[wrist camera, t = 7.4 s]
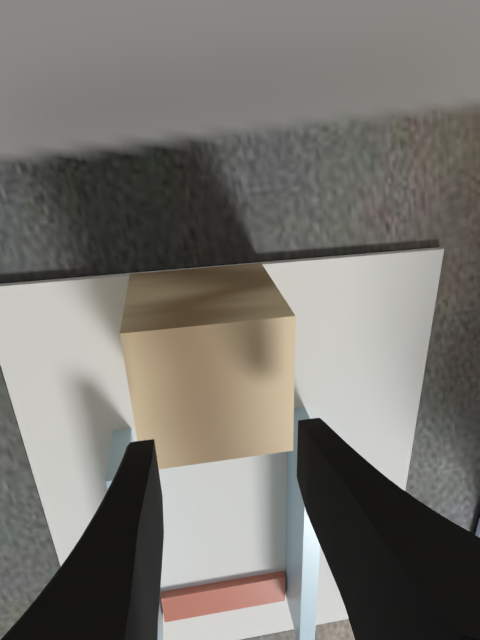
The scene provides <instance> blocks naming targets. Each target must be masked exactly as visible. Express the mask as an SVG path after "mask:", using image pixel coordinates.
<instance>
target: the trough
mask: <svg viewBox="0 0 480 640" xmlns="http://www.w3.org/2000/svg"><path fill="white" fill-rule="evenodd" d="M305 419H310V417H309V415H308V413H307V411H306V409H305V407H300V408H294V431H293V451H287V495H286V572H285V574H284V571H280V572H274V573H268V574H262V575H256V576H251V577H245V578H239V579H233V580H227V581H222V582H216V583H210V584H204V585H198V586H192V587H187V588H181V589H175V590H169V591H163V592H161V601H160V600H159V614H158V637H157V640H163V614H164V620H165V622H170V621H175V620H181V619H187V618H192V617H198V616H203V615H209V614H214V613H220V612H225V611H231V610H236V609H242V608H247V607H253V606H259V605H264V604H270V603H275V602H281V601H285V595H286V599H287V603H288V606H289V610H290V614H291V618H292V622H293V626H294V630H295V634H296V637H297V640H315V626H316V609H317V592H318V575H319V558H320V544H319V541H318V539H317V537H316V534H315V532H314V529H313V527H312V525H311V522H310V520H309V517H308V515H307V512H306V509H305V505H304V502H303V499H302V495H301V491H300V488H299V484H298V481H297V441H298V420H305ZM130 442H134V440H133V434H132V429H125V430H117V431H113V433H112V440H111V447H110V454H109V461H108V468H107V475H106V486H107V490H108V488H109V487H110V485H111V483H112V481H113V478H114V476H115V474H116V472H117V470H118V468H119V465H120V463H121V461H122V458H123V456H124V453H125V450H126V447H127V446H128V445H129V443H130ZM161 602H162V607H161ZM162 608H163V613H162Z"/></svg>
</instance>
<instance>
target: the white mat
mask: <svg viewBox="0 0 480 640" xmlns="http://www.w3.org/2000/svg"><path fill="white" fill-rule="evenodd" d="M443 253H444V249H443V248H441V247H436V248H424V249H412V250H400V251H388V252H376V253H364V254H352V255H340V256H328V257H316V258H304V259H292V260H280V261H268V262H256V263H262V265H263V266H264V268H265V270H266V271H267V273H268V274H269V276H270V277H271V279H272V280H273V282H274V283H275V285H276V286H277V288H278V290H279V291H280V293H281V294H282V296H283V297H284V299H285V300H286V302H287V303H288V305H289V307H290V308H291V310H292V311H293V313H294V314H295V316H296V322H295V376H294V408H300V407H305V409H306V411H307V413H308V415H309V417H310V419H313V418H321V419H322V420H323V421H324V422H325V423H326V424H327V425H328V426H329V427H330V428H331V429H332V430H334V431H335V432H336V433H337V434H338V435H339V436H340V437H341V438H342V439H343V440H344V441H345V442H346V443H347V444H349V445H350V446H351V447H352V448H353V449H354V450H355V451H356V452H357V453H358V454H360V455H361V456H362V457H363V458H364V459H365V460H367V461H368V462H369V463H370V464H371V465H372V466H374V467H375V468H376V469H377V470H378V471H380V472H381V473H382V474H383V475H384V476H386V477H387V478H388V479H389V480H391V481H392V482H393V483H395V484H396V485H397V486H399V487H400V488H401V489H403V490H404V491H405V488H406V482H407V476H408V470H409V464H410V458H411V451H412V445H413V439H414V433H415V427H416V420H417V414H418V408H419V402H420V396H421V389H422V383H423V377H424V371H425V365H426V358H427V352H428V346H429V340H430V334H431V328H432V321H433V315H434V309H435V303H436V297H437V290H438V284H439V278H440V272H441V266H442V259H443ZM244 264H255V263H244ZM232 265H243V264H232ZM232 265H220V266H232ZM220 266H208V267H220ZM208 267H196V268H208ZM196 268H184V269H196ZM184 269H171V270H159V271H147V272H135V273H123V274H111V275H99V276H87V277H75V278H63V279H51V280H39V281H27V282H15V283H3V284H0V365H1V368H2V371H3V375H4V378H5V382H6V385H7V388H8V392H9V395H10V398H11V402H12V405H13V408H14V412H15V415H16V418H17V422H18V425H19V428H20V432H21V435H22V439H23V442H24V445H25V449H26V452H27V455H28V459H29V462H30V465H31V469H32V472H33V475H34V479H35V482H36V485H37V489H38V492H39V496H40V499H41V502H42V506H43V509H44V512H45V516H46V519H47V522H48V526H49V529H50V532H51V536H52V539H53V542H54V546H55V549H56V553H57V556H58V559H59V563H60V566H62V564H63V563H64V561H65V560H66V559H67V557H68V556H69V554H70V553H71V551H72V550H73V548H74V547H75V545H76V544H77V542H78V541H79V539H80V538H81V536H82V534H83V533H84V531H85V529H86V528H87V526H88V524H89V523H90V521H91V519H92V518H93V516H94V514H95V513H96V511H97V509H98V507H99V506H100V504H101V502H102V500H103V498H104V496H105V494H106V492H107V486H106V475H107V468H108V461H109V454H110V447H111V440H112V433H113V431H117V430H125V429H132V434H133V440H134V442H135V441H137V436H136V430H135V424H134V417H133V411H132V405H131V399H130V393H129V387H128V381H127V375H126V369H125V363H124V357H123V351H122V345H121V339H120V329H121V323H122V317H123V311H124V305H125V300H126V294H127V288H128V282H129V276H130V274H137V273H149V272H161V271H173V270H184ZM159 476H160V483H161V490H162V497H163V523H164V540H163V556H162V571H161V585H160V601H161V592H163V591H169V590H175V589H181V588H187V587H192V586H198V585H204V584H210V583H216V582H222V581H227V580H233V579H239V578H245V577H251V576H256V575H262V574H268V573H274V572H280V571H284V574H285V572H286V495H287V452H280V453H273V454H266V455H259V456H251V457H244V458H237V459H230V460H223V461H215V462H208V463H201V464H194V465H187V466H180V467H172V468H165V469H159ZM161 607H162V602H161ZM162 613H163V608H162ZM345 619H349V618H348V614H347V611H346V608H345V605H344V603H343V600H342V597H341V595H340V592H339V589H338V587H337V585H336V582H335V580H334V577H333V575H332V573H331V570H330V568H329V565H328V563H327V561H326V558H325V556H324V553H323V551H322V549H321V546H320V558H319V575H318V592H317V609H316V625H318V624H324V623H329V622H334V621H340V620H345ZM292 629H294V626H293V622H292V618H291V614H290V610H289V606H288V603H287V599H286V595H285V601H281V602H275V603H270V604H264V605H259V606H253V607H247V608H242V609H236V610H231V611H225V612H220V613H214V614H209V615H203V616H198V617H192V618H187V619H181V620H175V621H170V622H165V620H164V614H163V640H239V639H244V638H250V637H255V636H260V635H266V634H271V633H276V632H281V631H287V630H292Z"/></svg>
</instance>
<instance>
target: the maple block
mask: <svg viewBox="0 0 480 640" xmlns="http://www.w3.org/2000/svg"><path fill="white" fill-rule="evenodd" d="M295 322H296V316H295V314H294V313H293V311H292V310H291V308H290V307H289V305H288V303H287V302H286V300H285V299H284V297H283V296H282V294H281V293H280V291H279V290H278V288H277V286H276V285H275V283H274V282H273V280H272V279H271V277H270V276H269V274H268V273H267V271H266V270H265V268H264V266H263V265H262V263H255V264H243V265H232V266H220V267H208V268H196V269H184V270H173V271H161V272H149V273H137V274H130V276H129V282H128V288H127V294H126V300H125V305H124V311H123V317H122V323H121V329H120V339H121V345H122V351H123V357H124V363H125V369H126V375H127V381H128V387H129V393H130V399H131V405H132V411H133V417H134V424H135V430H136V436H137V441H143V440H151V439H154V441H155V448H156V455H157V462H158V469H165V468H172V467H180V466H187V465H194V464H201V463H208V462H215V461H223V460H230V459H237V458H244V457H251V456H259V455H266V454H273V453H280V452H287V451H293V431H294V376H295Z"/></svg>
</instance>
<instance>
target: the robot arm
mask: <svg viewBox="0 0 480 640" xmlns="http://www.w3.org/2000/svg"><path fill="white" fill-rule="evenodd" d="M297 481H298V484H299V488H300V491H301V495H302V499H303V502H304V505H305V509H306V512H307V515H308V517H309V520H310V522H311V525H312V527H313V529H314V532H315V534H316V537H317V539H318V541H319V544H320V546H321V549H322V551H323V553H324V556H325V558H326V561H327V563H328V565H329V568H330V570H331V573H332V575H333V577H334V580H335V582H336V585H337V587H338V589H339V592H340V595H341V597H342V600H343V603H344V605H345V608H346V611H347V614H348V618H349V621H350V624H351V627H352V630H353V634H354V637H355V640H480V519H479V523H478V526H477V530H476V534H475V535H474V534H472V533H471V532H469V531H467V530H465V529H464V528H462V527H460V526H458V525H456V524H455V523H453V522H451V521H450V520H448V519H446V518H445V517H443V516H441V515H440V514H438V513H436V512H435V511H433V510H432V509H430V508H429V507H427V506H426V505H424V504H423V503H421V502H420V501H418V500H417V499H415V498H414V497H412V496H411V495H410V494H408V493H407V492H405V491H404V490H403V489H401V488H400V487H399V486H397V485H396V484H395V483H393V482H392V481H391V480H389V479H388V478H387V477H386V476H384V475H383V474H382V473H381V472H380V471H378V470H377V469H376V468H375V467H374V466H372V465H371V464H370V463H369V462H368V461H367V460H365V459H364V458H363V457H362V456H361V455H360V454H358V453H357V452H356V451H355V450H354V449H353V448H352V447H351V446H350V445H349V444H347V443H346V442H345V441H344V440H343V439H342V438H341V437H340V436H339V435H338V434H337V433H336V432H335V431H334V430H332V429H331V428H330V427H329V426H328V425H327V424H326V423H325V422H324V421H323V420H322V419H321V418H313V419H305V420H298V441H297ZM163 540H164V523H163V497H162V490H161V483H160V476H159V469H158V462H157V455H156V448H155V441H154V439H151V440H143V441H135V442H130V443H129V445H128V446H127V447H126V450H125V453H124V456H123V458H122V461H121V463H120V465H119V468H118V470H117V472H116V474H115V476H114V478H113V481H112V483H111V485H110V487H109V488H108V490H107V492H106V494H105V496H104V498H103V500H102V502H101V504H100V506H99V507H98V509H97V511H96V513H95V514H94V516H93V518H92V519H91V521H90V523H89V524H88V526H87V528H86V529H85V531H84V533H83V534H82V536H81V538H80V539H79V541H78V542H77V544H76V545H75V547H74V548H73V550H72V551H71V553H70V554H69V556H68V557H67V559H66V560H65V561H64V563H63V564H62V566H61V567H60V569H59V570H58V571H57V573H56V574H55V575H54V577H53V578H52V579H51V581H50V582H49V583H48V584H47V586H46V587H45V588H44V590H43V591H42V592H41V593H40V595H39V596H38V597H37V599H36V600H35V601H34V602H33V603H32V605H31V606H30V607H29V608H28V610H27V611H26V612H25V613H24V614H23V615H22V617H21V618H20V619H19V620H18V621H17V622H16V623H15V624H14V626H13V627H12V628H11V629H10V630H9V631H8V632H7V633H6V634H5V636H4V637H3V638H2V639H1V640H157V637H158V614H159V600H160V585H161V571H162V556H163Z"/></svg>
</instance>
